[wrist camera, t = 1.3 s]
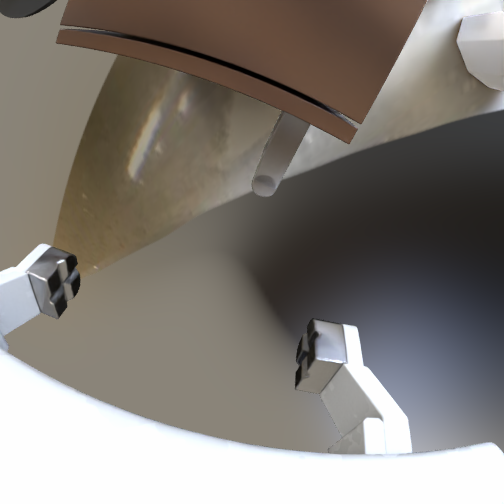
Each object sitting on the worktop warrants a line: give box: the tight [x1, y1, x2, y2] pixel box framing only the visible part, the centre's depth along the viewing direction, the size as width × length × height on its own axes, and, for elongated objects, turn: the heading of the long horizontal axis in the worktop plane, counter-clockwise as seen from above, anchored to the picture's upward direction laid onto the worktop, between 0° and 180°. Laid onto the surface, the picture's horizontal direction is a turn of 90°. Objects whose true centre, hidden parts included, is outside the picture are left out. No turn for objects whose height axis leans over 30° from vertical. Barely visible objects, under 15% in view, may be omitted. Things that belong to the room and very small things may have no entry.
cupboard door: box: [56, 29, 358, 197], centre depth 24 cm, size 8×18×22 cm, turn 67°
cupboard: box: [60, 0, 427, 124], centre depth 18 cm, size 12×18×22 cm, turn 67°
